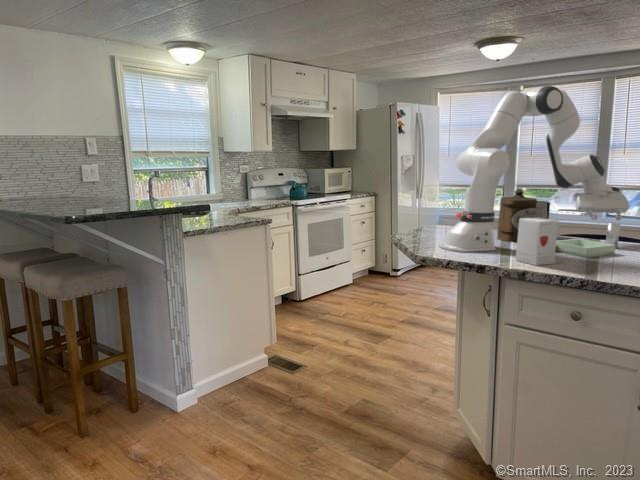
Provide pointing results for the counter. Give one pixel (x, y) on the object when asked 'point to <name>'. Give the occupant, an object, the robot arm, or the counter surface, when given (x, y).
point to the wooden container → (514, 215)
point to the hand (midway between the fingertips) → (606, 219)
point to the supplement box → (536, 241)
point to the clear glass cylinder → (613, 233)
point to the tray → (585, 248)
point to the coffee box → (542, 209)
